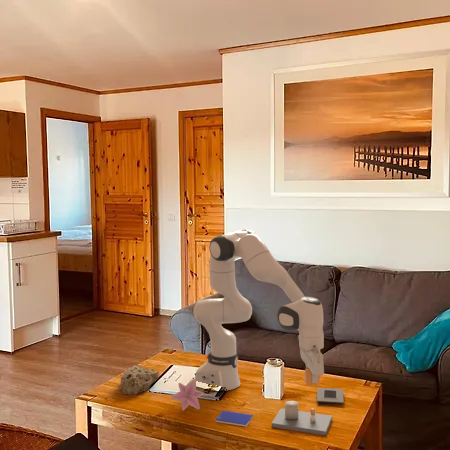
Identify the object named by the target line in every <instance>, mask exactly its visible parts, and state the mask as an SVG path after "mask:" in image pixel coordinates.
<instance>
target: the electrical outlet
mask: <svg viewBox="0 0 450 450" xmlns="http://www.w3.org/2000/svg"><path fill="white" fill-rule="evenodd" d="M316 392H317V393H316V402H317V403H323V404H336V405H337V404H340V405H341V404H344V403H345V401H344V389H343V388H329V387H327V388H326V387H317V391H316Z"/></svg>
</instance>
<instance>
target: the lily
mask: <svg viewBox="0 0 450 450" xmlns="http://www.w3.org/2000/svg"><path fill="white" fill-rule="evenodd" d="M192 379H193V378H192ZM192 379H191V380H192ZM191 380H190V382H188V384H187V385H185V384H183V383H182V382H178V388H179V391H178V392H176V393H175V394H173V395H172V396H171V399H173V400H175V401H178V402H181V410H182V411H185V410H186V409H187V408H188V407H189V406H191V407H193V408H194V409H197V410H200V409H201V407H200V402H199V399H198V398H200V397H201V396H202V395H204V392H203V391H200V390H197V387H196V381H195V379H193V380H192V381H191Z"/></svg>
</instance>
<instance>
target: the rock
mask: <svg viewBox="0 0 450 450" xmlns="http://www.w3.org/2000/svg"><path fill="white" fill-rule="evenodd" d="M159 377H160V372H159V370H155V369H154V368H153V369H151V368H148V367H145V366H141V365H140V364H136V365H131V366H130V367H128V368H127V369H125V370H123V374H121V378H120V384H119V389H120V391H121V392H123V394H124V395H125V394H128V395H131V394H133V395H138V394H139V392H140V393H143V391H144V392H145V391H147V390H148V389H150V387H151V385H153V384H154V383H155V382H156V380H157V379H158V380H159ZM158 380H157V381H158Z"/></svg>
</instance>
